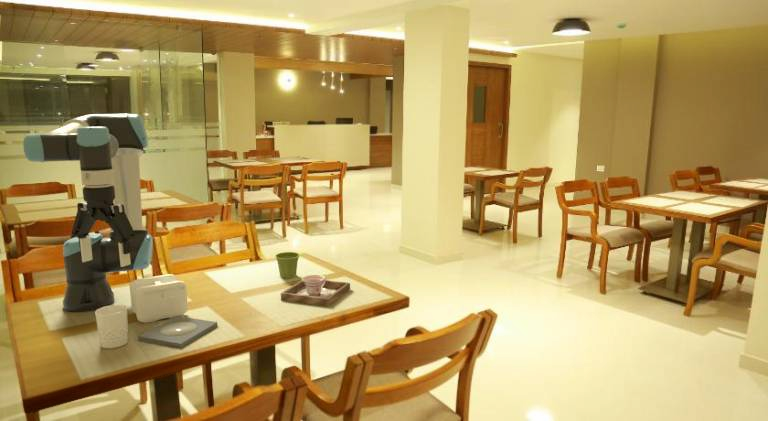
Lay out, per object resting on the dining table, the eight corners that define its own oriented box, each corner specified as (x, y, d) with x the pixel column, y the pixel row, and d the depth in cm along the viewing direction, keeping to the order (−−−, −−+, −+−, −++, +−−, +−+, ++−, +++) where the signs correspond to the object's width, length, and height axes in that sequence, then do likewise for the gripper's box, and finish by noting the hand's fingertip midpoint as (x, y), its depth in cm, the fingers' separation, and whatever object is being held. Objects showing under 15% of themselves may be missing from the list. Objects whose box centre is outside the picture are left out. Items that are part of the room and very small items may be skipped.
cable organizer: (181, 305, 179) (178, 272, 176) (189, 315, 170) (186, 280, 168) (132, 315, 171) (128, 280, 168) (137, 326, 162) (134, 289, 160)
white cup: (117, 350, 145) (113, 316, 143) (92, 348, 147) (88, 313, 145) (136, 338, 153) (133, 305, 151) (111, 336, 154) (108, 303, 152)
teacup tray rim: (281, 300, 184) (280, 293, 183) (306, 284, 200) (305, 277, 200) (328, 306, 177) (328, 299, 177) (350, 289, 194) (350, 282, 194)
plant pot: (305, 275, 211) (304, 254, 209) (289, 281, 203) (288, 259, 201) (287, 271, 216) (286, 250, 214) (270, 277, 208) (270, 256, 206)
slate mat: (138, 339, 152) (137, 335, 152) (177, 319, 167) (177, 315, 166) (180, 347, 147) (180, 343, 147) (217, 325, 162) (217, 321, 161)
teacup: (307, 303, 181) (307, 286, 180) (290, 294, 190) (289, 277, 189) (337, 295, 188) (337, 278, 187) (319, 287, 197) (318, 271, 196)
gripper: (51, 185, 142) (60, 262, 146) (123, 189, 134) (131, 271, 138) (75, 181, 149) (83, 255, 153) (146, 185, 141) (152, 263, 145)
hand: (106, 263), depth 145 cm, fingers open, 13 cm apart
